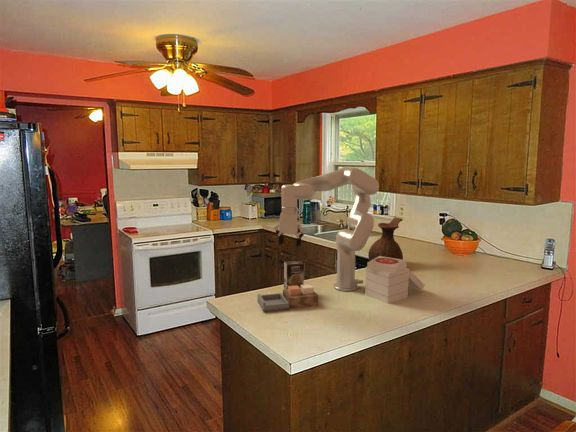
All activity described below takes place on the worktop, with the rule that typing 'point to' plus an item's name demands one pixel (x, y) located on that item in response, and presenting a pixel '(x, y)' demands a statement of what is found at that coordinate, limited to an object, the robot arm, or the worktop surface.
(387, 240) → the jug
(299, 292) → the tile
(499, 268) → the worktop surface
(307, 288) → the tile
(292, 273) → the coffee box
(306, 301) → the wooden square board
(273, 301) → the box
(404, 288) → the pizza boxes
